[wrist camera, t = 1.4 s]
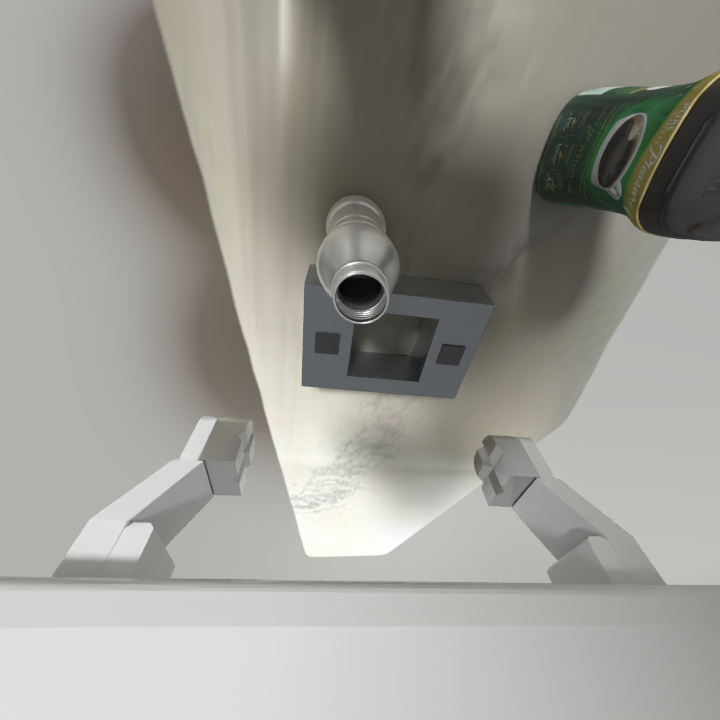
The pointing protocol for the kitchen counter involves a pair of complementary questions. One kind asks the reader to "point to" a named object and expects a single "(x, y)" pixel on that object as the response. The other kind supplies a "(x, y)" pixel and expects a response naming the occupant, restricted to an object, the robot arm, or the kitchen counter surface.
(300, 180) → the kitchen counter surface
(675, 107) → the coffee jar
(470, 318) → the grey slotted block
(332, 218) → the silver bottle
